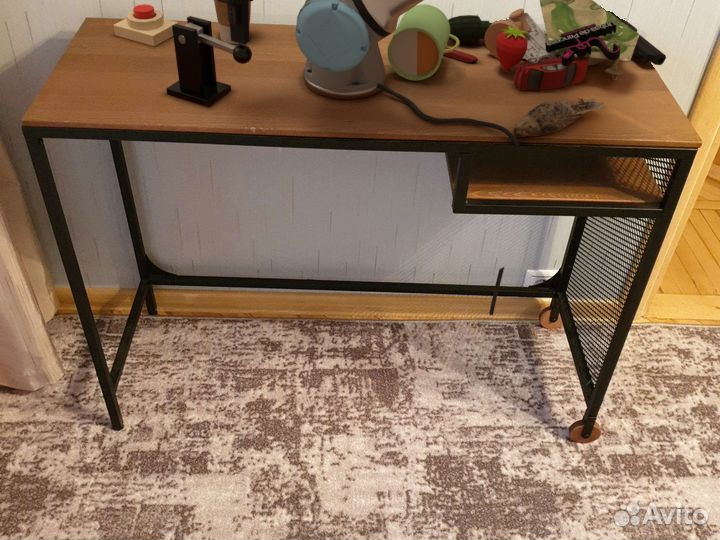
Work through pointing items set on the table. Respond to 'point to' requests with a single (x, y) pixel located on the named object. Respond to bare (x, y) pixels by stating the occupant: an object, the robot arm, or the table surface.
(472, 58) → the utility knife
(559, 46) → the logo
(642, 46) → the handgun
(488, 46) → the door knob
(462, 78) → the table surface
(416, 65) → the mug
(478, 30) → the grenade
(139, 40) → the button housing
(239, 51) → the press lever
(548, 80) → the toy car
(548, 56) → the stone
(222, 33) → the coffee cup
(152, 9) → the stop button
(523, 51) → the strawberry
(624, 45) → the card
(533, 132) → the bird model
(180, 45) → the lever bracket
